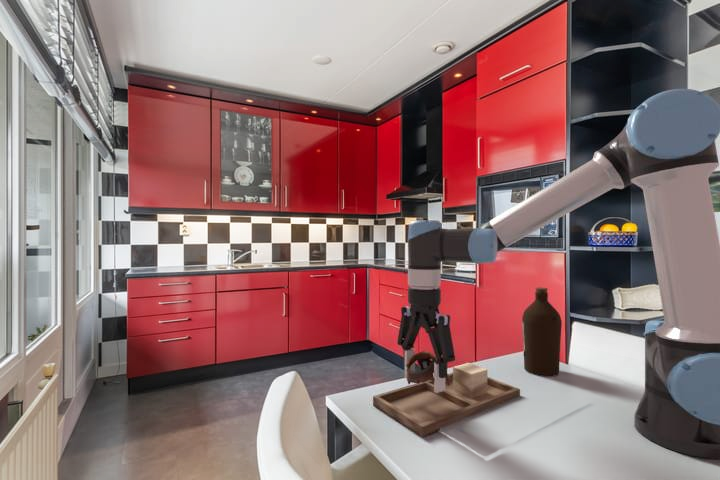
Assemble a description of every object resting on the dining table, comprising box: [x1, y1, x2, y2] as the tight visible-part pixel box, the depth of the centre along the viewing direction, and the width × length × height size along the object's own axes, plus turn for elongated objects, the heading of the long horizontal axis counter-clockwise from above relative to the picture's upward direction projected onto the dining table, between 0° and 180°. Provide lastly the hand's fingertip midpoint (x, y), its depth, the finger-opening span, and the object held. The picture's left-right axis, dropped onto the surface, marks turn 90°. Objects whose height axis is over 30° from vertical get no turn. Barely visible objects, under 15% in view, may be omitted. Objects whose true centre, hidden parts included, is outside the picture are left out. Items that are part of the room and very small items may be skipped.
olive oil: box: [521, 286, 563, 377], centre depth 109 cm, size 11×11×25 cm
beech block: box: [452, 362, 488, 399], centre depth 93 cm, size 6×6×6 cm
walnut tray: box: [372, 372, 521, 438], centre depth 89 cm, size 17×33×2 cm, turn 124°
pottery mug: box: [405, 350, 450, 386], centre depth 86 cm, size 12×10×8 cm
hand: (424, 383), depth 84 cm, fingers closed on pottery mug, 9 cm apart
